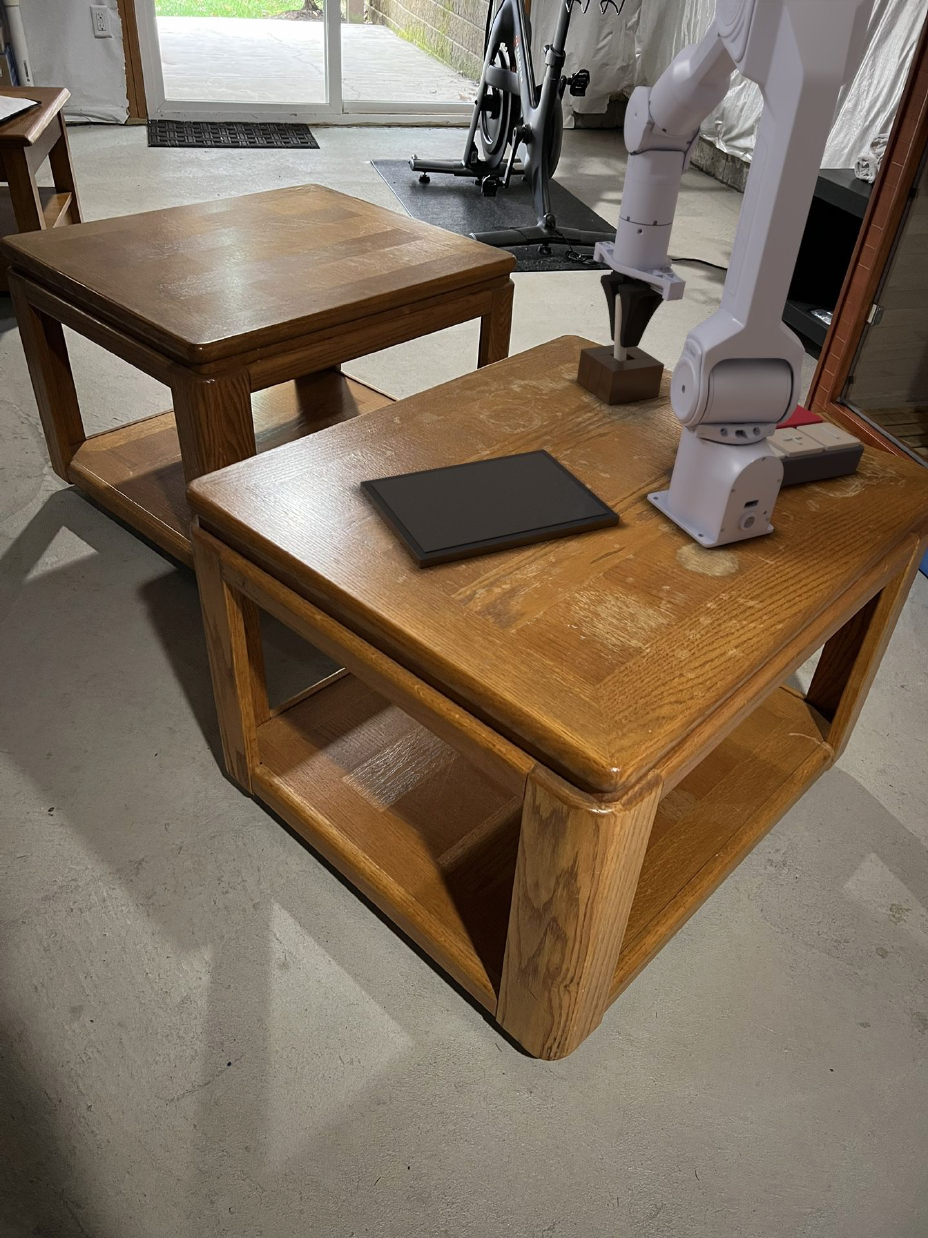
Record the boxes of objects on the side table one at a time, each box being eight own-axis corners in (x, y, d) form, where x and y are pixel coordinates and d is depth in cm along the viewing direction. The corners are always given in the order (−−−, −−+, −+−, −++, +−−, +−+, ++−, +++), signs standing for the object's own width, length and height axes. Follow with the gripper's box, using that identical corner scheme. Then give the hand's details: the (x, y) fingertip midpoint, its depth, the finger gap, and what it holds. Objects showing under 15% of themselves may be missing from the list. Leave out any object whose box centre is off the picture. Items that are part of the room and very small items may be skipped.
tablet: (618, 524, 86) (620, 515, 85) (419, 568, 78) (420, 558, 78) (543, 456, 96) (544, 447, 95) (359, 489, 88) (359, 480, 87)
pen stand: (658, 396, 109) (664, 364, 107) (608, 405, 107) (613, 371, 104) (624, 373, 114) (630, 342, 112) (576, 381, 112) (580, 348, 109)
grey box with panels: (870, 440, 95) (759, 458, 88) (855, 478, 97) (746, 498, 91) (794, 397, 102) (687, 410, 96) (782, 433, 105) (677, 448, 99)
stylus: (627, 386, 110) (631, 295, 103) (617, 389, 110) (620, 298, 103) (620, 382, 111) (624, 291, 104) (610, 385, 111) (613, 294, 103)
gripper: (719, 234, 95) (691, 362, 104) (638, 198, 105) (618, 317, 114) (662, 239, 93) (638, 370, 101) (585, 201, 103) (569, 323, 111)
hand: (624, 342), depth 107 cm, fingers closed on stylus, 1 cm apart
